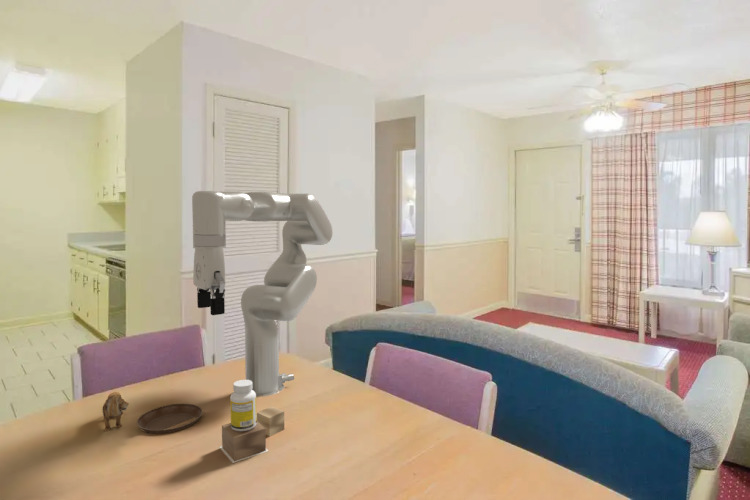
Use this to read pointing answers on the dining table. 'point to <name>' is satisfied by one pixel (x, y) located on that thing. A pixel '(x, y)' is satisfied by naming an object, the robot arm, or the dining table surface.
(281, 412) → the oak cube
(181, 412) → the saucer
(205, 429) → the dining table surface
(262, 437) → the walnut block
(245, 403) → the supplement bottle
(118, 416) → the lion figurine
